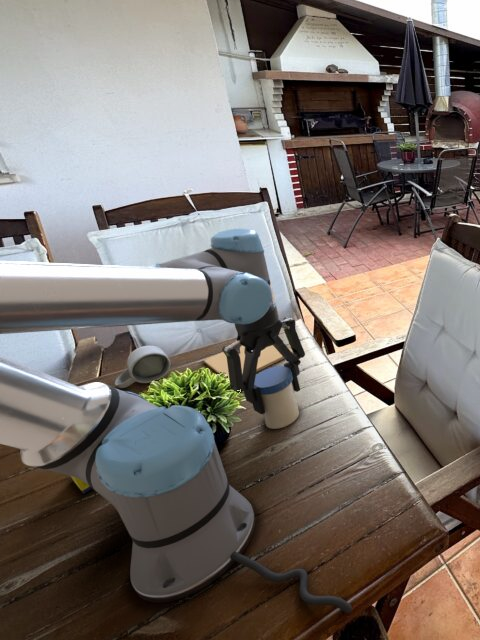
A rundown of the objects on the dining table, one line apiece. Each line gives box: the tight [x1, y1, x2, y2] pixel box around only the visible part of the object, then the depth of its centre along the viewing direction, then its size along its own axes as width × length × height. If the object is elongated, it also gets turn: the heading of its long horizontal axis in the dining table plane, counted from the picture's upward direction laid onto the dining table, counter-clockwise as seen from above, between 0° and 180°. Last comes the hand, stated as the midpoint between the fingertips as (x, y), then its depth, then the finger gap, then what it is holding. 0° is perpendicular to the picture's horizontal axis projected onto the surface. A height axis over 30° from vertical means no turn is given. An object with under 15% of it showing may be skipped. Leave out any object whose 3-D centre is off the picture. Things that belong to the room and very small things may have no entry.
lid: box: [254, 365, 293, 395], centre depth 85 cm, size 7×7×2 cm
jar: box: [261, 382, 300, 430], centre depth 87 cm, size 7×7×10 cm
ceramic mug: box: [114, 345, 171, 389], centre depth 100 cm, size 11×8×8 cm
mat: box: [203, 345, 293, 378], centre depth 109 cm, size 16×16×1 cm
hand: (278, 399), depth 87 cm, fingers closed on lid, 7 cm apart
